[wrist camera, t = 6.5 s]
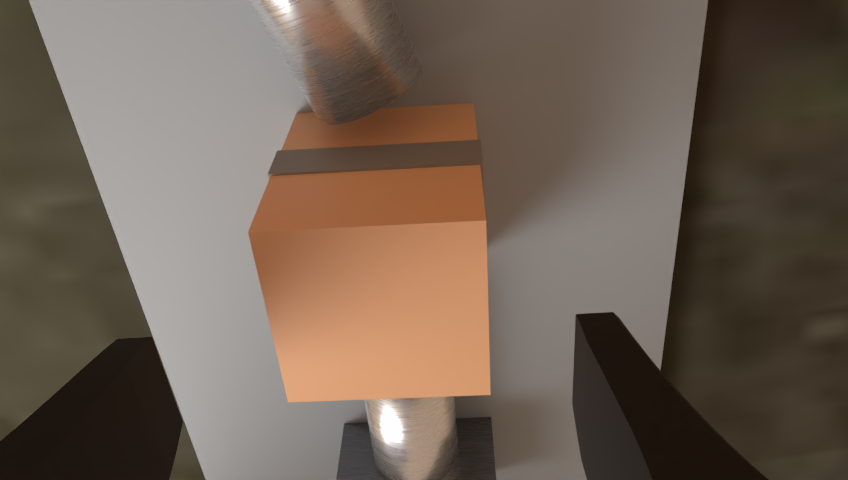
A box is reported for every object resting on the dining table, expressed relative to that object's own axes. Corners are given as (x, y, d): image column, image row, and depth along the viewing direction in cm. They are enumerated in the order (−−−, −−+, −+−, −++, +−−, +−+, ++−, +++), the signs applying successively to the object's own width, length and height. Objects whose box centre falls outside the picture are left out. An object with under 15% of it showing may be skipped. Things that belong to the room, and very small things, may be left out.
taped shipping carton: (480, 253, 18) (493, 396, 14) (320, 260, 19) (285, 404, 14) (476, 100, 16) (488, 217, 12) (293, 111, 16) (244, 229, 12)
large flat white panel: (638, 456, 24) (646, 481, 23) (220, 473, 25) (212, 498, 24) (744, -448, 12) (767, -464, 11) (-71, -358, 13) (-107, -367, 12)
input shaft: (491, 445, 24) (498, 538, 21) (357, 451, 24) (346, 543, 21) (483, 264, 20) (490, 348, 17) (323, 274, 20) (304, 357, 17)
